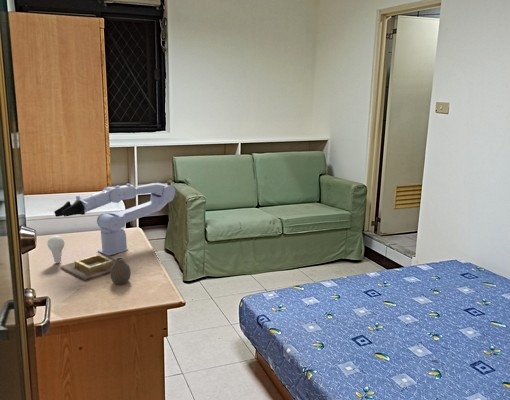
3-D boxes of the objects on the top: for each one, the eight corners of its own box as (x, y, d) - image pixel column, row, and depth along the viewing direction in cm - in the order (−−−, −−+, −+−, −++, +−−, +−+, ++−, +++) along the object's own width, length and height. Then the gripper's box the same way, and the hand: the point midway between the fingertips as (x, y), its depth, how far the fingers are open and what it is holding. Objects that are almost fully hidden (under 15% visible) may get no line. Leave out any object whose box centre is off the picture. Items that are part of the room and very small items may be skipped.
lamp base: (103, 255, 198) (103, 253, 198) (129, 267, 187) (128, 265, 187) (60, 268, 185) (60, 266, 185) (85, 281, 174) (85, 279, 174)
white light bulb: (60, 266, 187) (57, 238, 185) (46, 265, 188) (43, 237, 186) (69, 260, 193) (67, 233, 190) (55, 259, 194) (52, 232, 192)
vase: (109, 280, 175) (107, 256, 173) (129, 277, 177) (128, 254, 175) (112, 287, 169) (110, 263, 166) (132, 284, 171) (131, 260, 169)
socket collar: (99, 258, 193) (99, 253, 193) (114, 265, 186) (114, 260, 186) (74, 266, 186) (74, 261, 185) (89, 273, 179) (88, 268, 178)
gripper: (80, 193, 198) (48, 204, 189) (97, 191, 187) (63, 203, 178) (86, 209, 199) (54, 221, 190) (103, 209, 188) (70, 221, 180)
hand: (59, 214), depth 184 cm, fingers open, 7 cm apart
